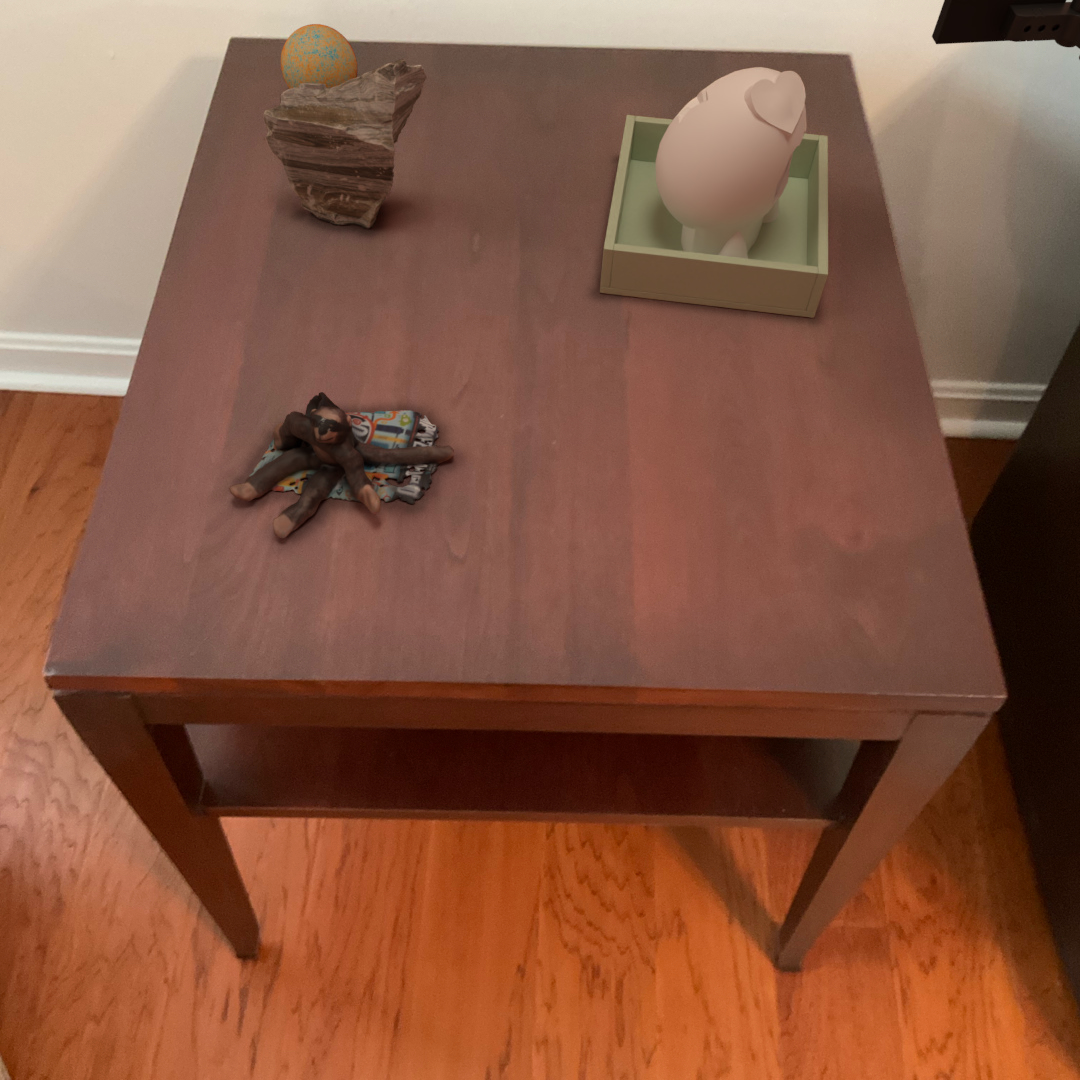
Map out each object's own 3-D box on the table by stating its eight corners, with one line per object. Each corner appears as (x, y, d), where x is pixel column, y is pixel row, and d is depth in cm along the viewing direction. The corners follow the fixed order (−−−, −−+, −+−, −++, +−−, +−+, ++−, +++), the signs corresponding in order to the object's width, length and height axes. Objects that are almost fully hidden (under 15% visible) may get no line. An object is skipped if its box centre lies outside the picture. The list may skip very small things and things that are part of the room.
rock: (276, 214, 89) (237, 52, 77) (305, 174, 92) (272, 11, 80) (412, 247, 87) (394, 86, 75) (437, 204, 90) (424, 43, 78)
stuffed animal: (203, 459, 73) (305, 329, 71) (293, 488, 82) (387, 373, 79) (286, 570, 68) (400, 433, 66) (373, 588, 77) (476, 469, 74)
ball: (355, 124, 96) (344, 54, 91) (281, 120, 97) (266, 50, 91) (367, 80, 100) (357, 10, 94) (296, 76, 101) (282, 6, 95)
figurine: (627, 247, 87) (644, 84, 74) (677, 171, 92) (701, 7, 80) (752, 289, 84) (792, 128, 72) (795, 208, 90) (839, 45, 77)
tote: (815, 180, 93) (828, 135, 89) (814, 318, 83) (828, 274, 79) (622, 160, 94) (626, 114, 90) (599, 293, 85) (603, 248, 81)
